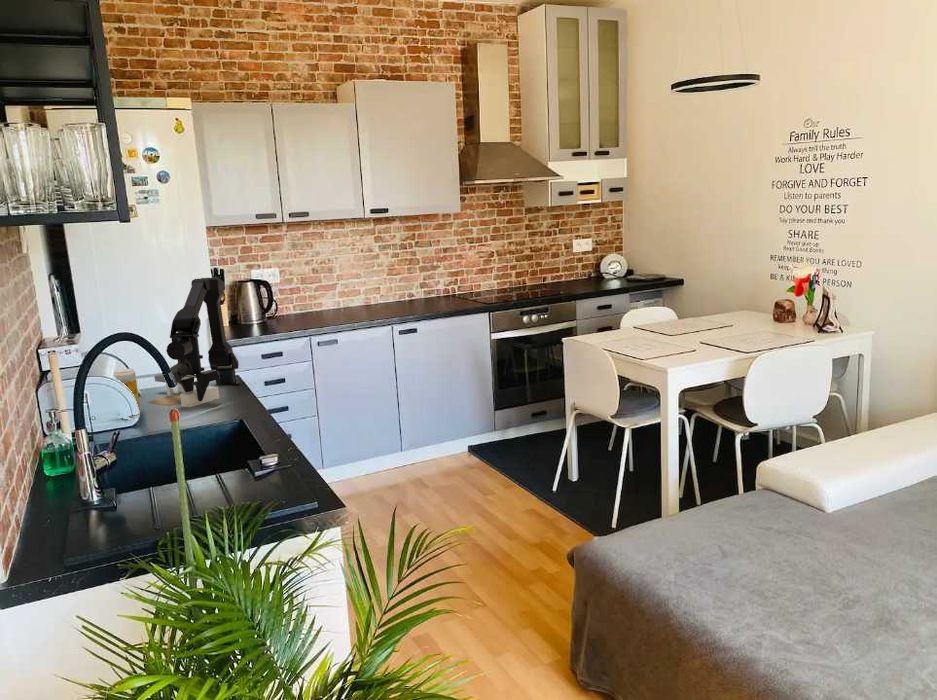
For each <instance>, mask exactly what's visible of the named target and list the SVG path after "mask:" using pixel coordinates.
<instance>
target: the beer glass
mask: <svg viewBox="0 0 937 700" xmlns="http://www.w3.org/2000/svg"><path fill="white" fill-rule="evenodd" d="M114 376H115V377H116V378H117V379H118V380H120V381H121V382H122V383H124V384H125V385H126V386H127V387H128V388H129V389H130V390H131V391H132V393H133V394H134V396H135V398H136V401H137V404H138V407H139V410H140V414H141V412H142V411H141V408H140V407H141V406H140V398H139V391H138V382H137V376H136V371H135V369H134V368H122V369H117V370H115V371H114V374H113V377H114Z"/></svg>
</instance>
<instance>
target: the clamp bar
mask: <svg viewBox="0 0 937 700" xmlns="http://www.w3.org/2000/svg"><path fill="white" fill-rule="evenodd" d="M163 375H164V374H162V373H159V374H156V375H154V377H153V378H154V382H157V383H165V384H166V381H165V379H164V376H163ZM177 384H178V382H177ZM177 384H176V385H177Z"/></svg>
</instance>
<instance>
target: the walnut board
mask: <svg viewBox="0 0 937 700" xmlns="http://www.w3.org/2000/svg"><path fill="white" fill-rule="evenodd" d="M145 404H150V405H158V406H166V407H171V406H175V405H177V404H181V398H180V394H179V393H178V392H176V393H174V396H172V397H168V396H163V397H159V398H157V399H153V400H149V401H146V402H145Z"/></svg>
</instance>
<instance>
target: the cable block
mask: <svg viewBox="0 0 937 700" xmlns="http://www.w3.org/2000/svg"><path fill="white" fill-rule="evenodd" d="M219 391H220V390H219V387H218V386H211V385H208V387H207V389H206V392H205V395H204V397H203V400H202V401H199V400H198V396H197V390H196V389H194V390H193V391H190V392H186V393H182V394H180V398H181V403H180V406H181V407H185V408H193V407H195V406H198V405H202V404H205V403H208V402H211V401H215V400H218V399H220V394H219V393H220V392H219Z"/></svg>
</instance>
